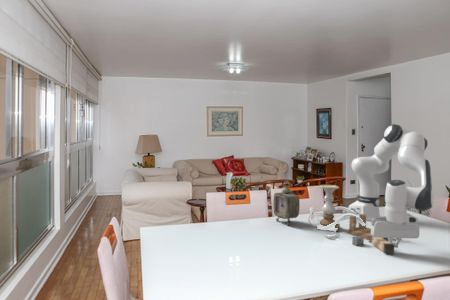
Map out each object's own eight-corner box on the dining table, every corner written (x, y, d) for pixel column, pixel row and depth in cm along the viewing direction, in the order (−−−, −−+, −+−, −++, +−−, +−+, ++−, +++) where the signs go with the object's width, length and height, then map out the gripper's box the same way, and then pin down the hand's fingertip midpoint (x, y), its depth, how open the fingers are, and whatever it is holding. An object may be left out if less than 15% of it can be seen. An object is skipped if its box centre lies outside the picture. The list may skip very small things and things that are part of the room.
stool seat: (348, 233, 174) (348, 216, 174) (361, 230, 180) (362, 213, 179) (375, 242, 161) (376, 223, 160) (389, 238, 166) (389, 220, 166)
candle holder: (316, 229, 181) (317, 186, 180) (320, 224, 191) (321, 183, 190) (336, 232, 176) (337, 188, 175) (339, 227, 186) (341, 185, 185)
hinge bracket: (367, 242, 161) (368, 232, 160) (372, 241, 162) (372, 231, 162) (374, 244, 157) (375, 234, 157) (378, 243, 159) (379, 233, 159)
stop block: (352, 244, 157) (352, 237, 157) (359, 242, 159) (359, 235, 159) (356, 246, 155) (357, 238, 154) (363, 244, 157) (363, 237, 157)
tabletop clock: (273, 220, 199) (273, 179, 197) (285, 219, 202) (286, 178, 201) (287, 226, 186) (288, 183, 184) (300, 225, 189) (301, 182, 188)
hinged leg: (369, 242, 159) (369, 234, 159) (377, 242, 159) (377, 234, 159) (385, 253, 144) (385, 245, 144) (393, 253, 144) (394, 245, 144)
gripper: (374, 218, 144) (373, 249, 144) (422, 219, 143) (420, 250, 144) (368, 214, 150) (367, 244, 151) (414, 215, 149) (413, 245, 150)
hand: (394, 247), depth 147 cm, fingers closed
